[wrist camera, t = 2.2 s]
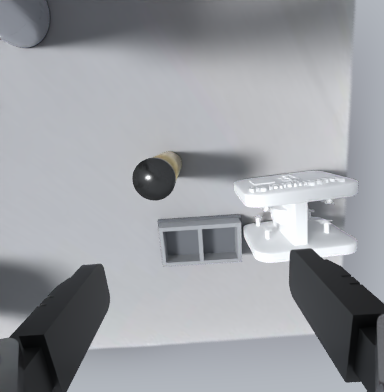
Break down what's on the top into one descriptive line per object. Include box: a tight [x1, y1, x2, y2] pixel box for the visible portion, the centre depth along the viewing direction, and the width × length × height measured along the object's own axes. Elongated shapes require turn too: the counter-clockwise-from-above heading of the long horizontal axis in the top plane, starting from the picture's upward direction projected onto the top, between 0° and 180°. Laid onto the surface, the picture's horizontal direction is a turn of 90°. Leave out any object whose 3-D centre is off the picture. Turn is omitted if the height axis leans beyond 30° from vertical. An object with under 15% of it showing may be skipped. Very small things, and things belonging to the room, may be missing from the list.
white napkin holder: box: [234, 171, 358, 263], centre depth 34 cm, size 15×11×12 cm
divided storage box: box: [158, 214, 242, 267], centre depth 40 cm, size 15×9×4 cm, turn 94°
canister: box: [133, 151, 182, 200], centre depth 31 cm, size 5×5×15 cm
